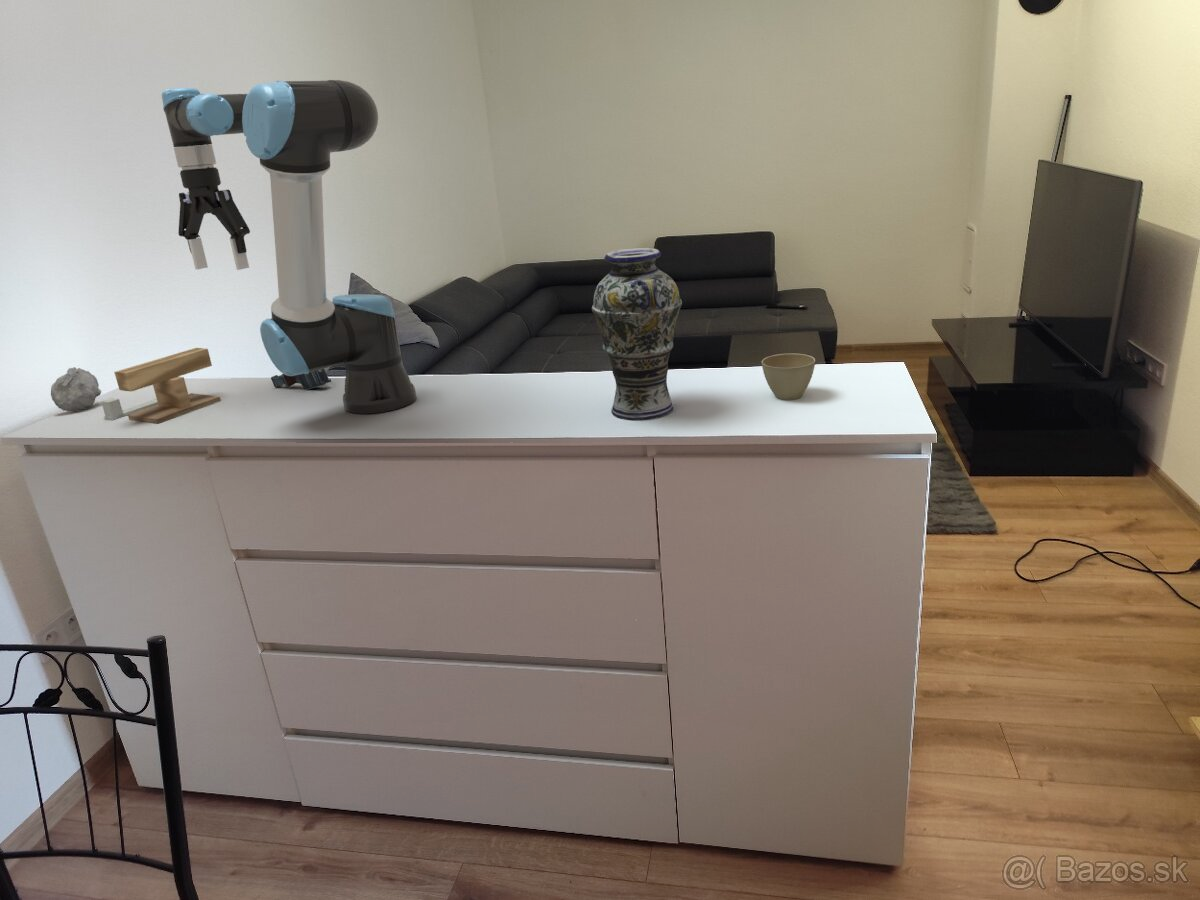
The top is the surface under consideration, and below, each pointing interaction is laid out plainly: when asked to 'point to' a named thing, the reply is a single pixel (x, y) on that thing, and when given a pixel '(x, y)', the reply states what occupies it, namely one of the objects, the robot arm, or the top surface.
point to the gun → (302, 379)
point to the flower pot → (788, 374)
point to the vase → (637, 331)
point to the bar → (162, 369)
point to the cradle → (115, 411)
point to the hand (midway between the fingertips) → (222, 268)
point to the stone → (75, 390)
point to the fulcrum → (172, 402)
